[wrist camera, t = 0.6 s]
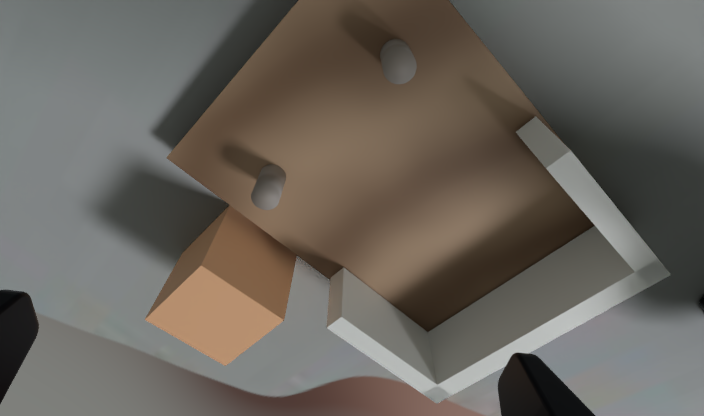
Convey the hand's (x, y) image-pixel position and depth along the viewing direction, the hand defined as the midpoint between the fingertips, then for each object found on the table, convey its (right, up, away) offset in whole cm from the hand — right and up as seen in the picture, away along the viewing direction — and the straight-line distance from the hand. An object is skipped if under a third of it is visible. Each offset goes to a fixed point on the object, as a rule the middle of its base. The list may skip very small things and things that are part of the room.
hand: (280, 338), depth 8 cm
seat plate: (+4, +3, +13) cm, 15 cm away
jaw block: (-5, 0, +16) cm, 17 cm away
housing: (+7, 0, +14) cm, 16 cm away
